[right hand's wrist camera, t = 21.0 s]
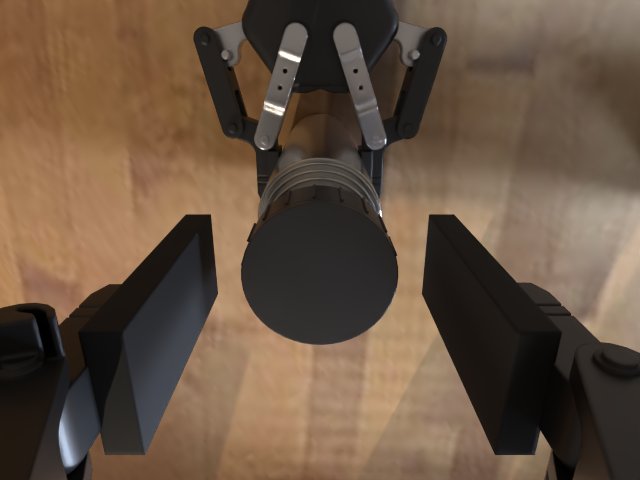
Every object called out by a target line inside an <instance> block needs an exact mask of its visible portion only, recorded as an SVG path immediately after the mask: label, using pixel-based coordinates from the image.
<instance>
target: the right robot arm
mask: <svg viewBox="0 0 640 480" xmlns="http://www.w3.org/2000/svg"><path fill="white" fill-rule="evenodd" d="M217 295H218V288H217V278H216V267H215V256H214V245H213V234H212V223H211V215H185V216H184V217H183V218H182V219H181V221H180V222H179V223H178V224H177V225H176V226H175V227H174V228H173V229H172V230H171V231H170V233H169V234H168V235H167V236H166V237H165V238H164V239H163V240H162V241H161V242H160V243H159V244H158V246H157V247H156V248H155V249H154V250H153V251H152V252H151V253H150V254H149V255H148V256H147V257H146V259H145V260H144V261H143V262H142V263H141V264H140V265H139V266H138V267H137V268H136V269H135V270H134V272H133V273H132V274H131V275H130V276H129V277H128V278H127V279H126V280H125V281H124V282H123V283H122V284H109V285H107V286H105V287H103V288H101V289H100V290H98V291H96V292H94V293H92V294H91V295H90V296H89V297H88V298H86V299H85V300H84V301H83V302H82V303H81V304H80V305H79V308H76V309H75V310H74V311H73V312H72V313H71V314H70V315H69V318H66V319H65V320H64V321H63V322H62V323H61V324H60V325H58V321H57V317H56V313H55V309H54V308H52V307H51V306H49V305H47V304H40V303H26V304H17V305H12V306H8V307H3V308H0V480H91V477H92V464H91V458H90V454H89V449H90V447H91V446H92V444H93V442H94V441H95V439H96V437H97V436H98V434H99V432H100V434H101V438H102V443H103V447H104V451H105V455H145V453H146V451H147V449H148V447H149V445H150V442H151V440H152V438H153V436H154V434H155V431H156V429H157V427H158V425H159V423H160V420H161V418H162V416H163V414H164V412H165V409H166V407H167V405H168V403H169V401H170V398H171V396H172V394H173V392H174V390H175V387H176V385H177V383H178V381H179V379H180V376H181V374H182V372H183V370H184V368H185V365H186V363H187V361H188V359H189V357H190V354H191V352H192V350H193V348H194V346H195V343H196V341H197V339H198V337H199V335H200V332H201V330H202V328H203V326H204V324H205V321H206V319H207V317H208V315H209V313H210V310H211V308H212V306H213V304H214V302H215V299H216V297H217ZM422 295H423V297H424V299H425V302H426V304H427V306H428V308H429V310H430V313H431V315H432V317H433V319H434V321H435V324H436V326H437V328H438V330H439V332H440V335H441V337H442V339H443V341H444V343H445V346H446V348H447V350H448V352H449V354H450V357H451V359H452V361H453V363H454V365H455V368H456V370H457V372H458V374H459V376H460V379H461V381H462V383H463V385H464V387H465V390H466V392H467V394H468V396H469V398H470V401H471V403H472V405H473V407H474V409H475V412H476V414H477V416H478V418H479V420H480V423H481V425H482V427H483V429H484V431H485V434H486V436H487V438H488V440H489V442H490V445H491V447H492V449H493V451H494V453H495V455H535V451H536V447H537V443H538V438H539V434H540V430H541V432H542V433H543V435H544V437H545V438H546V440H547V442H548V443H549V445H550V446H551V448H552V450H551V454H550V458H549V462H548V467H547V471H546V475H545V479H544V480H640V353H638V352H636V351H634V350H631V349H629V348H627V347H623V346H619V345H615V344H611V343H601V342H600V341H599V340H598V339H597V338H596V337H595V336H593V335H592V334H591V333H590V332H589V331H588V330H587V329H586V328H585V327H584V326H583V325H582V324H581V323H580V322H579V321H578V320H577V319H576V318H575V317H574V316H571V313H570V312H569V311H568V310H567V309H566V308H565V307H564V306H561V303H560V302H559V301H558V300H557V299H555V298H554V297H553V296H552V295H551V294H550V293H549V292H547V291H545V290H544V289H542V288H540V287H538V286H536V285H534V284H532V283H517V282H516V281H515V280H514V279H513V278H512V277H511V276H510V275H509V274H508V273H507V272H506V270H505V269H504V268H503V267H502V266H501V265H500V264H499V263H498V262H497V261H496V260H495V259H494V257H493V256H492V255H491V254H490V253H489V252H488V251H487V250H486V249H485V248H484V247H483V246H482V244H481V243H480V242H479V241H478V240H477V239H476V238H475V237H474V236H473V235H472V234H471V233H470V231H469V230H468V229H467V228H466V227H465V226H464V225H463V224H462V223H461V222H460V221H459V219H458V218H457V217H456V216H455V215H429V223H428V234H427V245H426V256H425V267H424V278H423V288H422Z"/></svg>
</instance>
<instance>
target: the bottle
mask: <svg viewBox="0 0 640 480" xmlns="http://www.w3.org/2000/svg"><path fill="white" fill-rule="evenodd" d="M313 184H316V185H321V186H332V187H337V188H339V187H342V189H344V190H347V191H349V192H351V193H353V194H355V195H357V196H358V197H360V198H362V197H363V198H364V199H365V202H367V203H368V204H369V205H370V206H371V207H372V208H373V209H374V210H375V212H376V213H377V215H381V206H380V201H379V198H378V195H377V193H376V191H375V188H374V186H373V184H372V182H371V180H370V177H369V175H368V173H367V171H366V169H365V166H364V164H363V162H362V160H361V158H360V155H359V153H358V151H357V149H356V147H355V144H354V142H353V140H352V138H351V136H350V134H349V131H348V130H347V128H346V127H345V125H344V124H343V123H342V122H341V121H340V120H338V119H337V118H335V117H333V116H330V115H326V114H313V115H310V116H307V117H305V118H303V119H302V120H300V121H299V122H298V123H297V124H296V125H295V126H294V128H293V129H292V131H291V133H290V135H289V138H288V140H287V142H286V144H285V146H284V148H283V151H282V153H281V155H280V157H279V159H278V162H277V164H276V166H275V168H274V170H273V172H272V175H271V177H270V179H269V181H268V183H267V185H266V188H265V190H264V192H263V194H262V197H261V200H260V203H259V209H258V220H259V218H260V217H261V215H262V213H263V212H264V211H265V210H266V207H267V205H268V204H270V205H271V204H272V203H273V202H274V201H275V200H277V199H278V198H279V197H281V196H282V195H284V194H286V193H288V191H289V190H291V191H293V190H296V189H298V188H302V187H307V186H313ZM381 217H382V215H381Z"/></svg>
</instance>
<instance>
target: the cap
mask: <svg viewBox="0 0 640 480" xmlns="http://www.w3.org/2000/svg"><path fill="white" fill-rule="evenodd" d="M247 241H248V242H249V243H248V245H247V248H246V250H245V253H244V257H243V260H242V263H241V266H242V268H241V280H242V286H243V291H244V294H245V297H246V299H247V301H248V303H249V305H250V307H251V309H252V310H253V312H254V313H255V314H256V316H257V317H258V318H259V319H260V320H261V321H262V322H263V323H264V324H265V325H266V326H267V327H268V328H270V329H271V330H273V331H274V332H276V333H277V334H279V335H281V336H283V337H285V338H288V339H290V340H293V341H297V342H300V343H306V344H314V345H325V344H334V343H339V342H343V341H346V340H349V339H352V338H354V337H356V336H358V335H360V334H362V333H363V332H365V331H367V330H368V329H369V328H371V327H372V326H373V325H374V324H375V323H376V322H377V321H379V320H380V319H381V317H382V316H383V315H384V313H385V312H386V311H387V309H388V307H389V306H390V304H391V302H392V300H393V297H394V295H395V292H396V288H397V282H398V265H397V259H396V256H397V253H396V251H395V248H394V246H393V244H392V241H391V239H390V236H389V237H388V234H387V229H386V227H385V224H384V222H383V220H382V217H381V215H377V213H376V212H375V210H374V209H373V208H372V207H371V206H370V205H369V204H368V203H367V202H365V199H364V198H363V197H362V198H360V197H358V196H357V195H355V194H353V193H351V192H349V191H347V190H344V189H342V187H339V188H337V187H332V186H321V185H316V184H313V186H307V187H302V188H298V189H296V190H293V191H291V190H289V191H288V193H286V194H284V195H282V196H281V197H279V198H278V199H277V200H275V201H274V202H273V203H272V204H271V205H270V204H268V205H267V207H266V210H265V211H264V212H263V213H262V215H261V217H260V218H259V220H258V221H257V224H256V223H254V225H253V228H252V230H251V232H250V235H249V237H248V239H247Z"/></svg>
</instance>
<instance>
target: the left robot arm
mask: <svg viewBox="0 0 640 480" xmlns="http://www.w3.org/2000/svg"><path fill="white" fill-rule="evenodd" d="M247 40H248V41H249V43H250V44H251V45H252V47H253V48H254V50H255V51H256V52H257V54H258V55H259V57H260V58H261V59H262V61H263V62H264V64H265V65H266V66H267V68H268V69H269V71H270V72H271V73H272V77H271V80H270V83H269V87H268V90H267V93H266V97H265V100H264V104H263V109H262V113H261V116H260V119H259V121H258V120H255V119H252V118H250V117H248V115H247V112H246V109H245V105H244V102H243V99H242V95H241V92H240V89H239V85H238V82H237V79H236V75H235V72H234V69H233V67H234V66H237V65H238V64H239V63H240V61H241V47H242V44H243V43H244V42H245V41H247ZM393 40H394V41H396V42H397V43H398V45H399V47H400V55H399V58H400V61H401V63H402V64H403V65H404V66H406V67H408V68H407V71H406V74H405V78H404V81H403V84H402V88H401V91H400V94H399V98H398V101H397V104H396V108H395V111H394V114H393V117H391V118H388V119H385V120H383V121H382V120H381V117H380V114H379V110H378V106H377V101H376V97H375V94H374V91H373V87H372V84H371V81H370V77H369V73H370V72H371V70H372V69H373V67H374V66H375V65H376V63H377V62H378V60H379V59H380V58H381V56H382V55H383V53H384V52H385V51H386V49H387V48H388V46H389V45H390V44H391V42H392V41H393ZM446 42H447V35H446V32H445V31H444V30H443V29H442V28H439V27H434V28H430V29H426V28H423V27H419V26H416V25H412V24H408V23H405V22H401V21H399V18H398V14H397V12H396V10H395V8H394V5H393V2H392V0H249V1H248V4H247V7H246V9H245V11H244V14H243V17H242V21H240V22H236V23H233V24H229V25H225V26H222V27H218V28H215V29H211V28H208V27H200V28H198V29H197V30H196V31H195V33H194V43H195V46H196V49H197V52H198V55H199V59H200V62H201V65H202V68H203V71H204V74H205V77H206V80H207V83H208V87H209V90H210V93H211V96H212V99H213V102H214V105H215V108H216V111H217V114H218V118H219V121H220V124H221V127H222V130H223V132H224V134H225V135H226V136H227V137H229V138H233V139H234V138H237V139H239V140H242V141H245V142H247V143H249V144H251V145H252V146H253V147H254V149H255V151H256V161H257V181H258V194H259V196H260V198H261V197H262V194H263V192H264V190H265V188H266V185H267V183H268V181H269V179H270V177H271V175H272V172H273V170H274V168H275V166H276V164H277V162H278V159H279V157H280V155H281V153H282V145H278V136H279V133H280V130H281V127H282V124H283V121H284V117H285V114H286V111H287V109H288V106H289V103H290V100H291V97H292V94H293V93H308V92H311V91H315V90H319V89H322V90H326V91H329V92H333V93H348V94H349V98H350V101H351V104H352V107H353V109H354V112H355V115H356V118H357V122H358V125H359V128H360V131H361V134H362V144H361V146H358V153H359V155H360V158H361V160H362V162H363V164H364V166H365V169H366V171H367V173H368V175H369V177H370V180H371V182H372V184H373V186H374V188H375V191H376V193H377V195H378V198H380V196H381V194H382V177H383V157H384V151H385V149H386V147H387V146H388V145H389V144H391V143H393V142H396V141H398V140H401V139H410V138H413V137H414V136H415V135H416V134H417V132H418V129H419V126H420V123H421V120H422V117H423V114H424V111H425V107H426V104H427V101H428V98H429V95H430V92H431V89H432V86H433V83H434V79H435V76H436V73H437V70H438V67H439V64H440V61H441V58H442V55H443V51H444V48H445V45H446Z"/></svg>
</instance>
